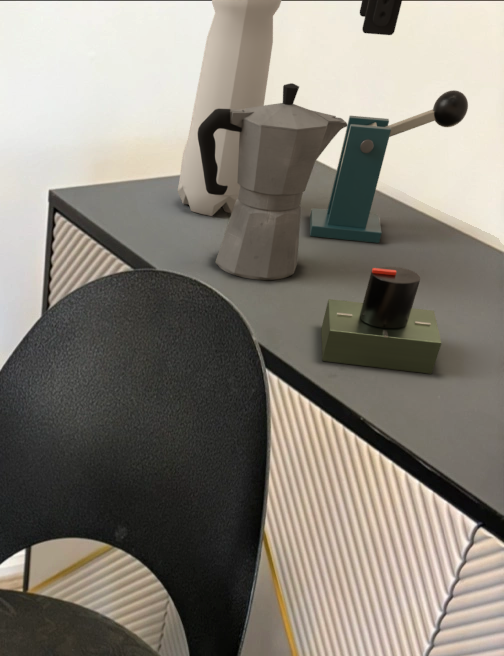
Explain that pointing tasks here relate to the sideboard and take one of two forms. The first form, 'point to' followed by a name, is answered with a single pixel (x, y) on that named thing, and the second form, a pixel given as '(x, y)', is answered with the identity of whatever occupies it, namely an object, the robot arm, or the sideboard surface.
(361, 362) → the panel
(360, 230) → the teal lever mount
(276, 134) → the coffeepot
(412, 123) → the ball knob lever
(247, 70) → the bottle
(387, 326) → the knob
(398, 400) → the sideboard surface
